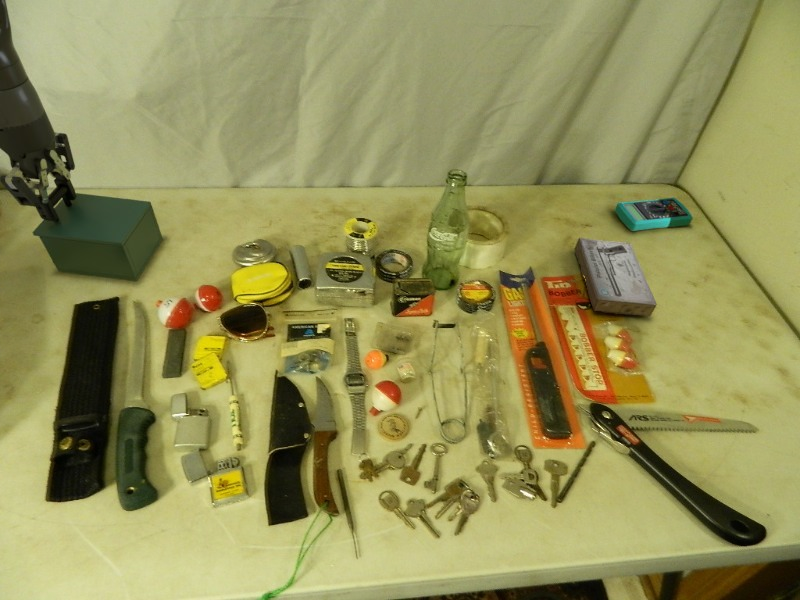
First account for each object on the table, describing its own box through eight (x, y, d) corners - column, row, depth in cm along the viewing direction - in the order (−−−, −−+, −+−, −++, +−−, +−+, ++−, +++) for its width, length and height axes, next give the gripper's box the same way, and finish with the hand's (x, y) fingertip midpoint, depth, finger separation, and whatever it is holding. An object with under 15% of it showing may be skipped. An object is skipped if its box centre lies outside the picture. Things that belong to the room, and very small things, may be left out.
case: (58, 271, 90) (38, 236, 84) (90, 230, 98) (74, 196, 92) (136, 281, 90) (122, 246, 84) (163, 239, 98) (151, 205, 92)
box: (591, 312, 92) (598, 300, 89) (572, 248, 104) (578, 236, 102) (651, 318, 92) (659, 306, 90) (625, 254, 104) (632, 241, 102)
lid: (33, 235, 84) (20, 212, 81) (70, 195, 92) (59, 172, 89) (122, 246, 84) (113, 223, 81) (151, 204, 92) (144, 181, 88)
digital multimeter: (691, 226, 112) (697, 215, 110) (629, 233, 109) (635, 222, 107) (671, 206, 117) (677, 195, 115) (611, 211, 114) (616, 200, 112)
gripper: (17, 86, 80) (61, 181, 92) (-47, 134, 70) (12, 233, 82) (66, 92, 80) (104, 186, 92) (9, 140, 70) (60, 239, 82)
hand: (60, 208), depth 87 cm, fingers closed on lid, 5 cm apart
